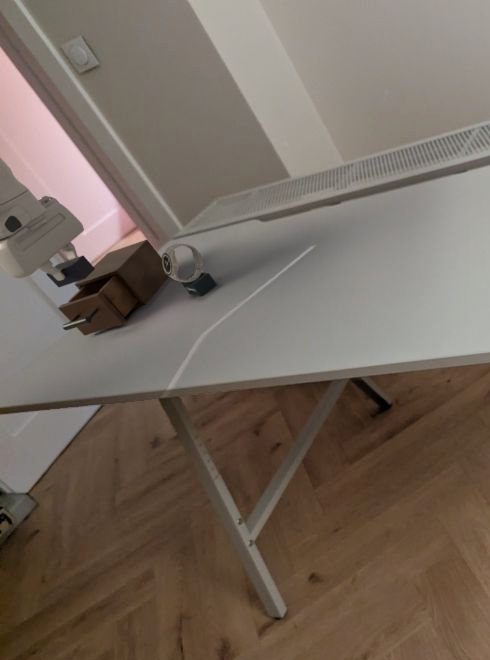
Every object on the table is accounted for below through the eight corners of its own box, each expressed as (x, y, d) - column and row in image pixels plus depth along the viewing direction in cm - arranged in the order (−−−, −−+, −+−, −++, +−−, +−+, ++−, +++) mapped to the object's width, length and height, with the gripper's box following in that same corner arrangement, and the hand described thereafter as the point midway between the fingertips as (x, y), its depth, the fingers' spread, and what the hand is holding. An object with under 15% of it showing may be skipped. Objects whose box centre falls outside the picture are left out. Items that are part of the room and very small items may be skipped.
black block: (58, 287, 114) (45, 274, 112) (69, 277, 117) (57, 264, 115) (85, 278, 112) (72, 264, 110) (95, 268, 116) (83, 255, 113)
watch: (182, 299, 119) (149, 257, 112) (211, 278, 123) (180, 236, 117) (194, 302, 116) (161, 259, 109) (223, 280, 120) (193, 237, 113)
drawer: (112, 336, 113) (84, 307, 109) (72, 349, 115) (44, 321, 111) (151, 290, 128) (128, 262, 123) (115, 301, 130) (91, 275, 125)
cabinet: (145, 304, 124) (116, 270, 118) (104, 317, 126) (74, 284, 121) (172, 272, 135) (147, 239, 130) (134, 284, 138) (107, 252, 132)
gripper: (37, 196, 114) (85, 252, 122) (-32, 242, 98) (29, 302, 106) (61, 187, 113) (108, 244, 121) (-5, 232, 97) (54, 293, 105)
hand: (70, 271), depth 114 cm, fingers closed on black block, 4 cm apart
